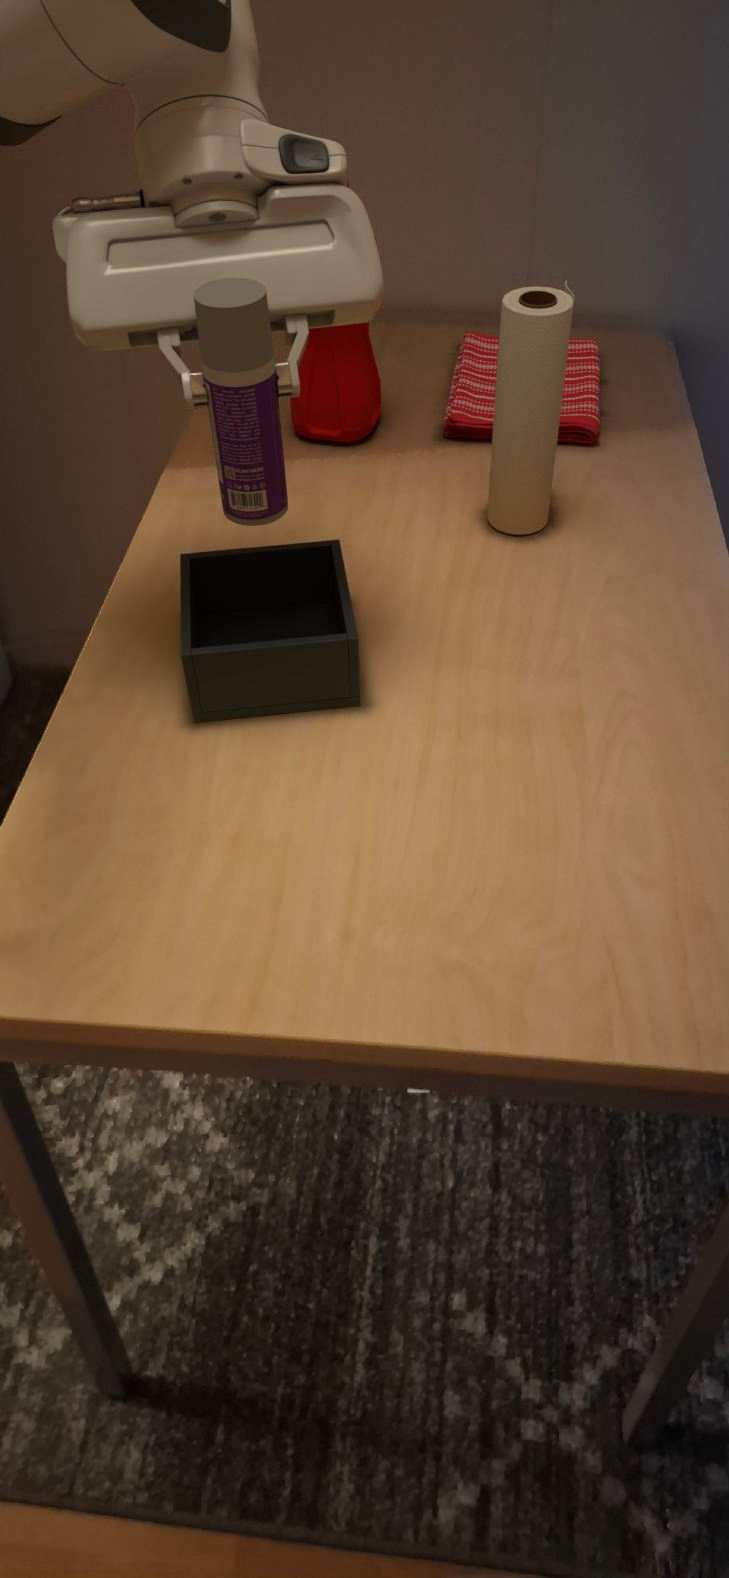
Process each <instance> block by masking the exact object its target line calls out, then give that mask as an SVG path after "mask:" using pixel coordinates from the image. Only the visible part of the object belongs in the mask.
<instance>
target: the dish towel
mask: <svg viewBox="0 0 729 1578" xmlns="http://www.w3.org/2000/svg"><path fill="white" fill-rule="evenodd" d="M498 349H499V336H498V335H497V336H496V335H489V334H488V335H487V334H482V333H477V332H473V331H464V333H463V340H462V341H461V345H460V347H459V352H458V357H457V361H456V365H455V367H454V372H453V376H452V383H451V386H450V393H449V398H448V403H447V406H446V410H445V416H444V418H443V420H444V423H443V426H442V430H443V431H444V437H446V438H463V439H464V438H466V439H487V440H488V439H491V440H492V436H493V422H494V407H495V393H496V378H497V364H498ZM600 363H601V361H600V347H599V341H598V340H597V339H595V338H569V346H568V355H567V363H566V372H565V380H564V389H563V397H562V405H561V414H560V422H559V431H558V439H557V443H558V442H559V443H560V442H561V443H578V444H579V443H581V444H582V443H583V444H592V443H594V442H596V441H597V440H598V439H599V437H600V426H601V418H600V417H601V406H600V405H601V401H600V394H601V386H600V384H601V365H600Z"/></svg>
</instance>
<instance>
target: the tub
mask: <svg viewBox="0 0 729 1578" xmlns="http://www.w3.org/2000/svg"><path fill="white" fill-rule="evenodd" d="M179 559H180V560H179V567H180V568H179V582H180V585H179V586H180V588H179V589H180V595H179V597H180V598H179V599H180V603H179V604H180V605H179V606H180V609H179V610H180V611H179V612H180V660H181V665H182V670H183V674H184V681H185V683H186V684H185V685H186V690H187V694H188V695H187V696H188V700H189V704H190V711H191V715H192V720H193V722H194V723H201V722H210V721H211V722H212V721H221V720H222V721H223V720H232V719H242V718H251V717H260V716H271V715H280V714H291V713H299V712H309V711H310V712H311V711H318V710H319V711H320V710H327V709H328V710H329V709H339V708H349V707H358V706H359V707H360V706H361V705H362V703H361V702H362V701H361V676H360V673H361V671H360V649H359V635H358V630H357V624H356V620H355V619H356V618H355V613H354V608H353V604H352V599H351V593H350V588H349V582H348V578H347V577H348V576H347V573H346V572H347V571H346V567H345V561H344V556H343V551H342V547H341V541H340V539H330V540H328V539H327V540H317V541H316V540H315V541H307V542H294V543H283V544H273V545H262V546H251V547H241V548H240V547H239V548H229V549H219V550H209V551H208V550H207V551H198V552H197V551H195V552H190V553H189V552H185V553H180V554H179Z"/></svg>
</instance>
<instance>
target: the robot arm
mask: <svg viewBox="0 0 729 1578" xmlns="http://www.w3.org/2000/svg"><path fill="white" fill-rule="evenodd" d="M257 39H258V38H257V33H256V28H255V22H254V17H253V13H252V9H251V3H250V0H0V146H2V147H16V146H21V145H23V144H25V143H26V142H27V141H29V140H30V139H32V138H33V137H35V136H36V135H39V134H40V132H42V131H43V130H45V129H46V128H48V127H50V126H51V125H53V123H55V122H56V121H58V120H60V119H61V118H62V117H63V115H66V113H69V112H70V111H72V110H75V109H76V108H77V107H80V106H81V105H84V104H85V103H87V102H89V101H91V100H94V99H95V98H97V97H99V96H101V95H103V94H105V93H106V92H108V91H110V90H113V89H114V88H116V87H118V86H120V85H121V87H122V88H123V89H125V90H126V91H128V93H129V94H130V96H131V99H132V101H133V105H134V121H133V132H132V135H133V136H132V137H133V144H134V151H135V157H136V158H135V159H136V164H137V169H138V177H139V183H140V190H131V191H123V192H121V191H120V192H114V193H109V194H105V195H100V196H92V195H81V196H77V197H74V198H72V199H71V201H70V202H71V204H68V205H67V204H66V206H63V207H62V208H61V209H59V210H58V211H57V213H56V214H55V216H54V217H53V220H52V225H51V234H52V240H53V246H54V252H55V255H56V257H57V259H58V261H59V262H60V264H61V265H62V266H63V267H64V268H65V269H66V270H65V275H66V279H65V280H66V294H67V295H66V297H67V307H68V314H69V320H70V325H71V328H72V330H73V333H74V335H75V338H76V339H77V340H78V341H79V343H80V344H81V345H82V346H84V347H85V349H87V350H88V351H89V352H92V353H102V352H111V351H120V350H121V351H122V350H129V349H137V348H147V347H148V348H149V347H157V346H158V348H159V354H160V357H161V362H162V363H163V364H164V365H165V367H166V368H167V369H168V371H169V372H170V373H171V374H172V376H173V377H174V378H175V379H176V380H177V382H178V383H179V385H182V390H183V396H184V401H185V409H186V410H195V409H202V408H208V398H207V391H206V389H205V381H204V377H203V371H200V372H191V370H190V369H189V368H188V366H187V365H186V364H185V363H184V361H183V360H182V358H183V350H182V344H183V343H194V342H199V337H198V329H197V320H196V312H195V304H194V292H195V290H196V289H197V288H198V287H200V286H201V285H203V284H205V283H208V282H211V281H214V280H218V279H224V278H246V279H252V280H255V281H258V282H260V283H261V284H263V285H264V286H265V288H266V293H267V302H268V310H269V318H270V327H271V334H275V333H284V338H285V344H286V346H287V347H291V349H290V351H289V354H288V357H287V360H286V362H279V363H275V367H276V378H277V390H278V399H286V398H288V399H289V398H290V397H298V396H300V381H299V375H298V367H299V364H300V362H301V359H302V357H303V354H304V352H305V349H306V346H307V343H308V336H309V329H312V328H322V327H331V326H340V325H349V324H358V323H366V322H369V323H370V322H371V321H372V320H373V319H374V317H375V316H376V314H377V313H378V312H379V309H380V308H381V305H382V303H383V300H384V295H385V280H384V271H383V267H382V262H381V257H380V253H379V249H378V243H377V244H376V242H377V239H376V240H375V237H376V235H375V233H374V230H373V227H372V223H371V220H370V217H369V214H368V211H367V208H366V207H365V204H364V203H363V201H362V200H361V198H360V197H359V195H358V194H357V193H356V192H355V191H354V190H352V189H351V188H350V187H349V188H348V187H347V182H348V180H349V179H348V178H349V173H348V171H349V169H348V158H347V157H348V156H347V153H346V150H345V148H344V146H343V145H342V144H340V143H339V142H338V141H334V140H331V139H327V138H322V137H319V136H314V135H310V134H306V133H303V132H302V133H301V132H298V131H294V130H290V129H286V128H282V127H280V126H276V125H273V124H271V123H270V119H269V116H268V114H267V111H266V109H265V106H264V104H263V101H262V100H261V97H260V92H259V91H260V90H259V82H260V75H261V74H260V73H261V58H260V52H259V46H258V40H257ZM353 191H354V192H353ZM72 212H73V213H72ZM374 235H375V236H374Z"/></svg>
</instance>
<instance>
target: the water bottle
mask: <svg viewBox="0 0 729 1578" xmlns="http://www.w3.org/2000/svg"><path fill="white" fill-rule="evenodd" d="M347 187H348V188H349V189H350V182H349V179H348V182H347ZM352 191H353V192H355V191H354V190H352ZM374 236H375V240H376V244H377V245H378V243H377V238H376V235H375V234H374ZM298 375H299V381H300V396H298V397H289V399H290V400H289V401H290V416H291V417H290V419H291V422H292V425H293V428H294V430H295V431H296V432H297V433H298V434H299V435H300V436H302V437H304V439H310V440H311V439H312V440H321V441H329V442H330V441H331V442H336V443H344V444H351V443H353V442H358V441H362V440H363V439H365V438H366V437H367V436H368V435H369V434H370V433H371V432H372V431H373V430H374V427H375V425H376V424H377V422H378V421H379V418H380V415H381V407H382V385H381V384H382V382H381V377H380V374H379V369H378V366H377V361H376V356H375V353H374V349H373V346H372V341H371V338H370V322H366V323H358V324H349V325H340V326H331V327H322V328H312V329H309V336H308V343H307V346H306V349H305V352H304V354H303V357H302V359H301V362H300V364H299V367H298Z"/></svg>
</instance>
